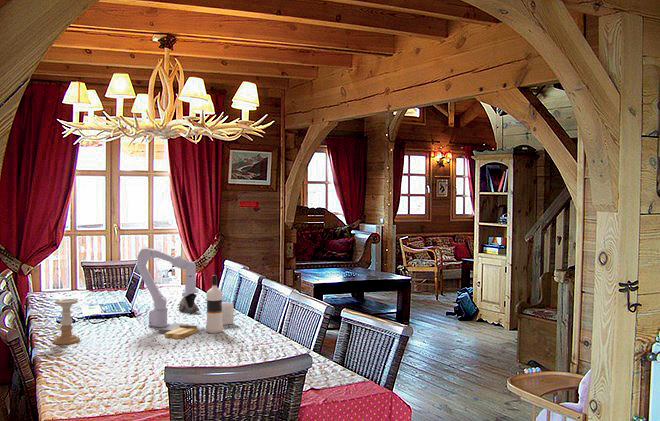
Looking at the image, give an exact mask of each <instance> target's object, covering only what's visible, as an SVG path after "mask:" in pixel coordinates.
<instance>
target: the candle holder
mask: <svg viewBox="0 0 660 421" xmlns="http://www.w3.org/2000/svg"><path fill="white" fill-rule="evenodd" d="M78 302H79V301H78V299H74V298H71V299H70V298H67V299H66V298H65V299H58V300H56V301H54V305H56V306H60V307H61V308H62V309H61V310H62V311H60V314H61V320H60V322H59V323H60V325H61V326H60V327H59V330H60V331H61V334H60V335H58V336H57V337H55V338H54V339H53V340H52V343H53V344H54V345H59V344H60V345H61V346H64V345H72V344H73V345H74V344H76V343H79V342H80V341H81V337H80V336H77V335H75V334H73V333H72V332H73V331H72V330H73V329H74V327H73V326H72V325H73V319H72V316H71V314H72V313H73V312H72V311H71V308H72V306H73V305H74V304H78Z"/></svg>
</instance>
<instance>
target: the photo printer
mask: <svg viewBox="0 0 660 421" xmlns="http://www.w3.org/2000/svg"><path fill="white" fill-rule="evenodd" d="M234 310H235V309H234V303H233V302H229V301H227V302H226V301H225V302H224V301H222V323H223V326H224V325H225V326H226V325H234V316H235V315H234V314H235V312H234Z"/></svg>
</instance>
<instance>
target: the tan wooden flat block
mask: <svg viewBox="0 0 660 421" xmlns="http://www.w3.org/2000/svg"><path fill="white" fill-rule="evenodd" d="M197 332H198V325H192V324H188V325H180V327H179V328H177V329H174V330H172V331H169V332H167V333H164V338H169V339H170V338H172V339H183V338H186V337H189V336H191V335H192V334H195V333H197Z"/></svg>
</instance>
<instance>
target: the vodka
mask: <svg viewBox="0 0 660 421" xmlns="http://www.w3.org/2000/svg"><path fill="white" fill-rule="evenodd" d="M205 294H206V298H205V299H206V323H205V332H206V333H208V334H220V333H222V332H223V331H224V325H223V323H222V303H223V290H222V289H220V288H219V287H218V275H216V274H214V275H213V274H212V275H211V288H209V289H208V290H207V291H206V293H205Z"/></svg>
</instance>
